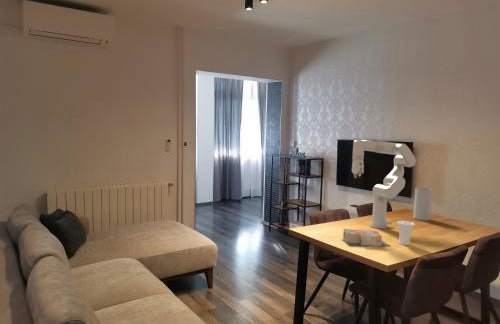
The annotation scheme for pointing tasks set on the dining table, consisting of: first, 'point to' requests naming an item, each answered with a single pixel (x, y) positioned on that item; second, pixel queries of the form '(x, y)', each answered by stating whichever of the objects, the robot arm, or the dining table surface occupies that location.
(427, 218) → the cylinder vase
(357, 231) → the stack of blocks
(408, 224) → the cup
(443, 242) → the dining table surface
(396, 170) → the robot arm
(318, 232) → the dining table surface
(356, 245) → the rubber mat
